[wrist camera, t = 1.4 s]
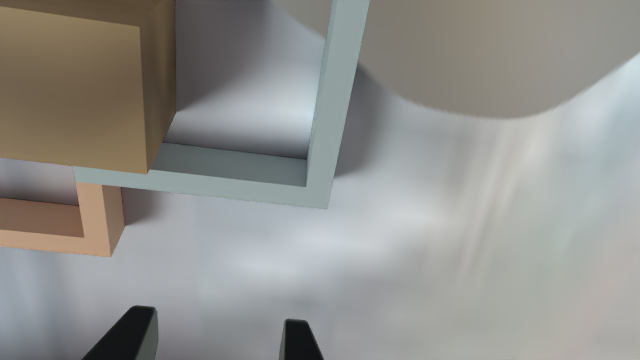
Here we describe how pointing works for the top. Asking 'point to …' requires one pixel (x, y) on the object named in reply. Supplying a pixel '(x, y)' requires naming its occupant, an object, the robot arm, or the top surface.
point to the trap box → (204, 166)
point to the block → (87, 81)
